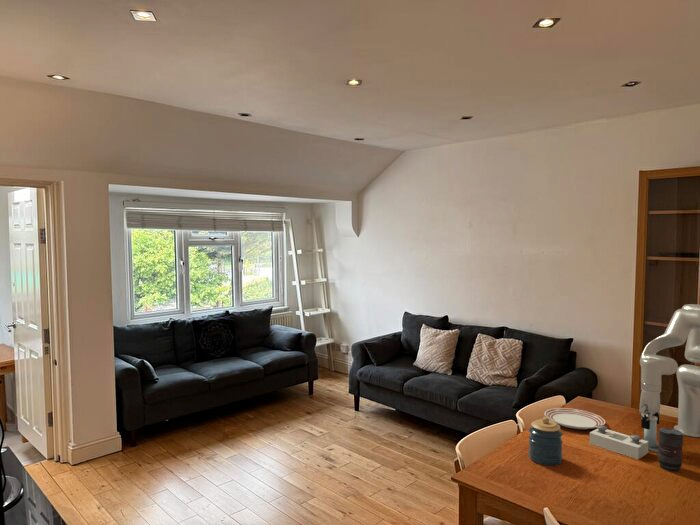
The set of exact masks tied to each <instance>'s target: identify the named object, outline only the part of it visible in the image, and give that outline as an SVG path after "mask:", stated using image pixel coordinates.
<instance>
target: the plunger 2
mask: <svg viewBox="0 0 700 525" xmlns="http://www.w3.org/2000/svg"><path fill="white" fill-rule="evenodd" d="M629 436H630V438H631V439H632V443H635V444H639V440H641V439H642V436H640V435H639V434H630V435H629Z"/></svg>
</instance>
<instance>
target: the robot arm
mask: <svg viewBox="0 0 700 525" xmlns="http://www.w3.org/2000/svg"><path fill="white" fill-rule="evenodd" d="M685 343H686V344H685ZM684 344H685V351H684V358H685V359H686V360H687V361H688V362H691V363H694V364H699V365H700V304H698V303H697V304H695V303H694V304H692V303H689V304H684V305H683V306H682V307H681V308H679V309H676V310H675V311H674V313H673V314H672V316H671V318H670V320H669V323H668V325H667V327H666V329H665V331H664V333H663V334H661V335H660V336H657V337H656V338H654V339H652V340H651V341H650V342H648V343H647V344H646V346H645V347H644V349H643V351H642V352H641V354H640V358H639V365H640V371H641V372H640V390H641V392H640V398H639V399H640V400H639V409H638V410H639V413H640V419H641V423H640V424H641V425H640V427H641V428H642V429H643V430H644V429H648V430H649V429H650V420H649V418H650V415H653V416H656V417H657V425H659V424H660V410H661V394H660V393H661V392H662V376H671V375H673V374H675V373H676V379H677V386H678V405H677V406H678V410H677V411H678V412H677V416H678V417H677V424H675V425H674V426H673V429H676V430H679V431H681V432H682V433H683V436H688V437H693V438H700V366H698V365H693V364H681V365H680V366H679V364H678V362H677V361H676V360H675V359H674V358H672V357H668V356H663V355H659V354H657V353H658V352H660V351H661V350H665V349H668V348H674V347H679V346H682V345H684ZM646 415H648V416H646Z"/></svg>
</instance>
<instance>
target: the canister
mask: <svg viewBox="0 0 700 525" xmlns="http://www.w3.org/2000/svg"><path fill="white" fill-rule="evenodd" d="M530 425H531V426H529V428H528V430H529V436H528V440H529V442H528V443H529V444H528V446H529V447H528V456H529V459H530V460H531V461H533V462H534V463H537V464H539V465H543V466H558V465H560V464H562V463H563V462H562V461H563V443H564V442H563V440H562V437H563V435H564V433H563V432H562V430H561V425H559V424H557V423H555V422H554V421H551V420H549V419H548V418H547V417H546V416H543V417H542V418H539V419H536V420H533V421H531V423H530Z"/></svg>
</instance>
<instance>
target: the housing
mask: <svg viewBox="0 0 700 525" xmlns="http://www.w3.org/2000/svg"><path fill="white" fill-rule="evenodd" d="M588 440H589V442H588V444H589V445H591V446H595V447H598V448H601V449H604V450H608V451H610V452H614V453H617V454H620V455H623V456H625V455H626V456H625V457H628V456H629V458H631V457H632V458H631V459H635V460H640V459H642V458H643V457H645V456H646V455H647V454H649V451H648V441H645V440H644V439H642V438H641V440H639V444H635V443H632V439H631V438H630V435H627V434H624V433H622V432H617V431H614V430H612V429H608V428H607V430H605V434H602V433H599V429H597V428H595V429H594V430H592V431H590V432H589V439H588Z"/></svg>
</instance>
